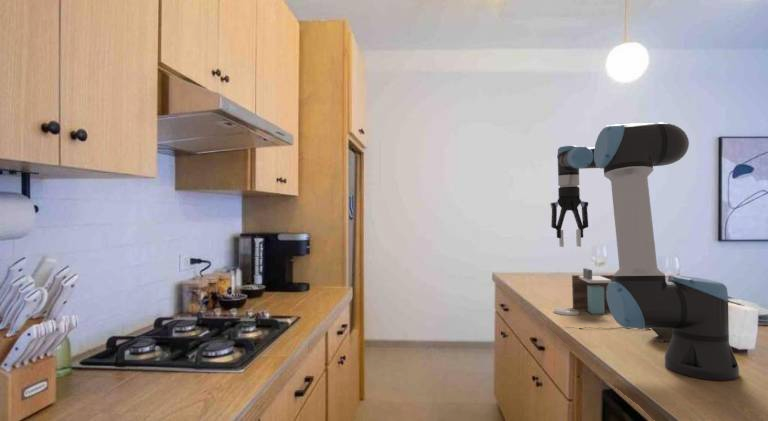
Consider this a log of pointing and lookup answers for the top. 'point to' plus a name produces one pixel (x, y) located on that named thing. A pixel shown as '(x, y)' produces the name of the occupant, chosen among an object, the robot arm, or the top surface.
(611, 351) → the top surface
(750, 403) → the top surface
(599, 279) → the lid
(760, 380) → the top surface
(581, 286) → the dark brown wooden box
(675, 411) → the top surface
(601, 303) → the block
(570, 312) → the saucer
